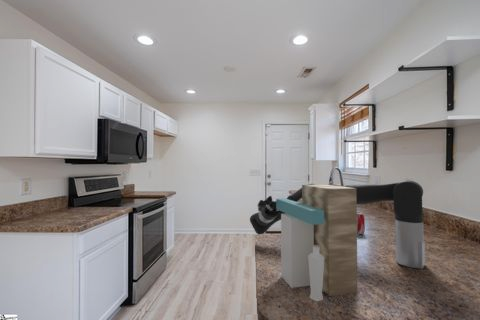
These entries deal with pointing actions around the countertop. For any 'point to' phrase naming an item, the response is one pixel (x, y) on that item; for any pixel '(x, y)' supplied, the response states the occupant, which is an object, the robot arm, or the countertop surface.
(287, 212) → the teal bar
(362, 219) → the soda can
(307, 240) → the white block
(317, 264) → the perfume bottle
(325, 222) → the maple stand
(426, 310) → the countertop surface
